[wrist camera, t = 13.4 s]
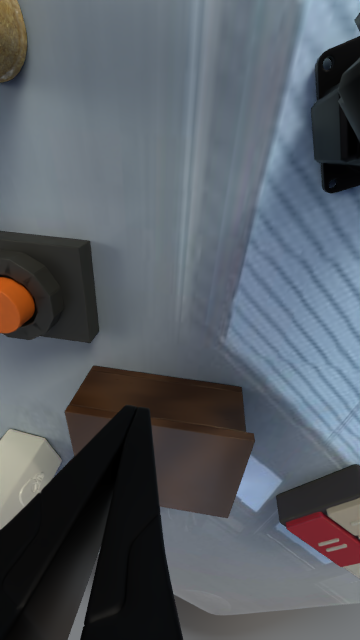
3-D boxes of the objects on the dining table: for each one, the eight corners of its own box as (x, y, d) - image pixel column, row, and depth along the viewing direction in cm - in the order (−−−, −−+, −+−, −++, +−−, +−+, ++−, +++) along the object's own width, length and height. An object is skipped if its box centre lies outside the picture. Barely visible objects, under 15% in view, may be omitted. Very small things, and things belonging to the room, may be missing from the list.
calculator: (373, 499, 25) (460, 570, 28) (355, 457, 29) (433, 523, 32) (278, 529, 30) (361, 587, 33) (273, 490, 34) (348, 545, 37)
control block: (90, 240, 20) (67, 254, 17) (99, 331, 24) (82, 355, 21) (-37, 226, 20) (-80, 237, 17) (-7, 316, 25) (-38, 338, 22)
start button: (29, 279, 18) (12, 290, 17) (39, 324, 20) (25, 337, 19) (-20, 273, 19) (-41, 283, 17) (-5, 318, 21) (-23, 330, 19)
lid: (254, 433, 21) (255, 441, 20) (227, 510, 27) (228, 518, 27) (68, 404, 22) (64, 411, 21) (85, 485, 28) (82, 492, 28)
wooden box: (242, 386, 25) (246, 431, 21) (221, 463, 32) (222, 509, 27) (92, 365, 26) (68, 404, 22) (102, 443, 33) (85, 485, 28)
